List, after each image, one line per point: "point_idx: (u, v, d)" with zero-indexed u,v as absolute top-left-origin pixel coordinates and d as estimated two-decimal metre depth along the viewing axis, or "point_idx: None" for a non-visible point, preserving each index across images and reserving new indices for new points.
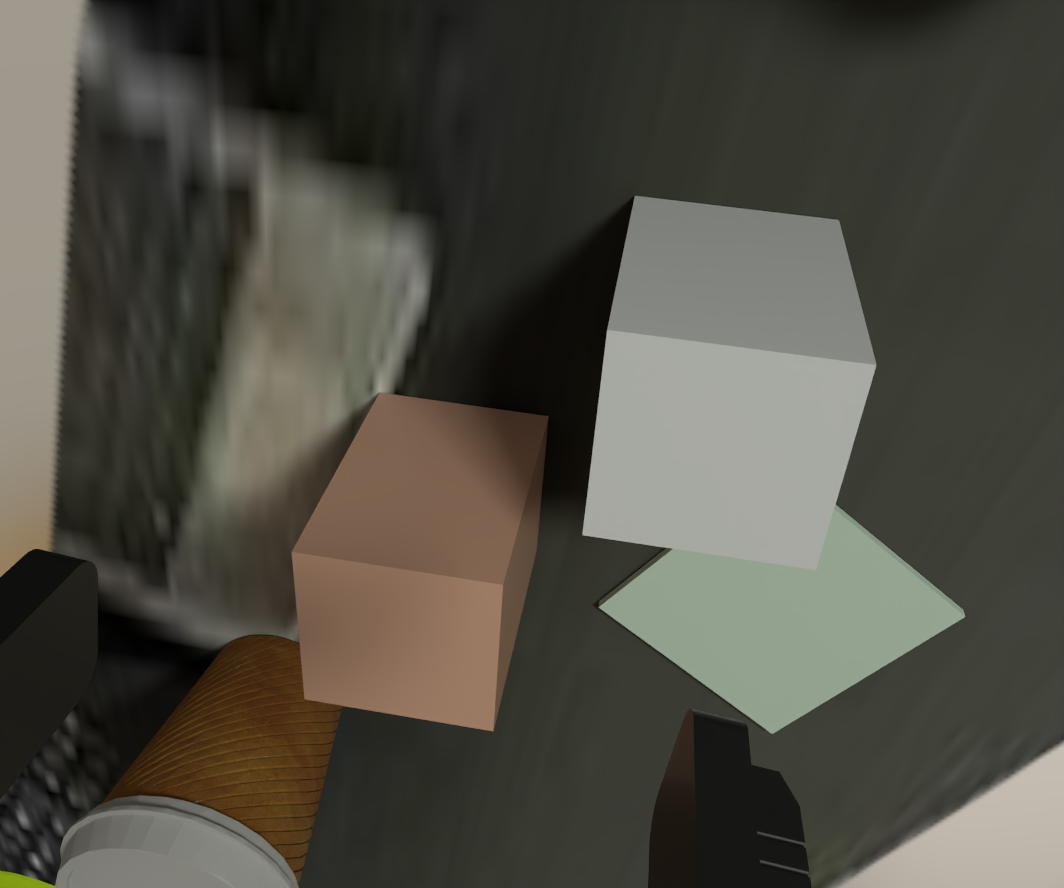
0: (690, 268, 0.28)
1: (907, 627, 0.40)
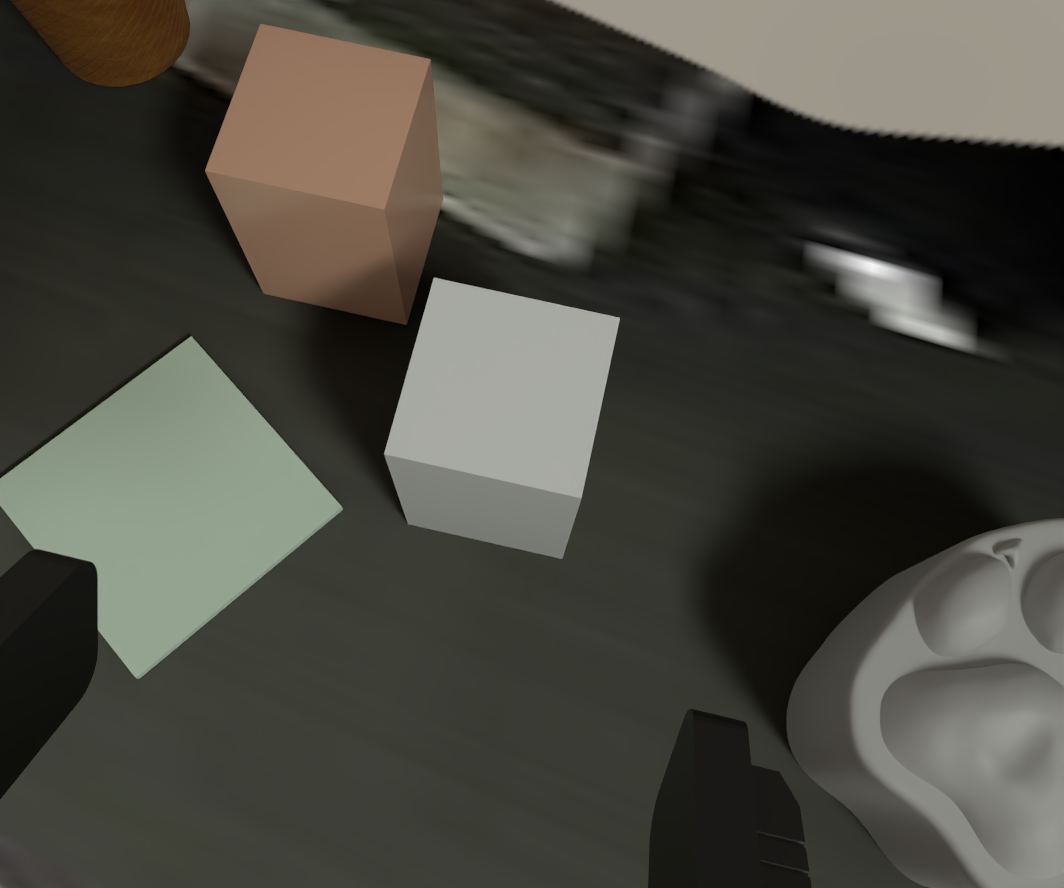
0: None
1: (127, 622, 0.39)
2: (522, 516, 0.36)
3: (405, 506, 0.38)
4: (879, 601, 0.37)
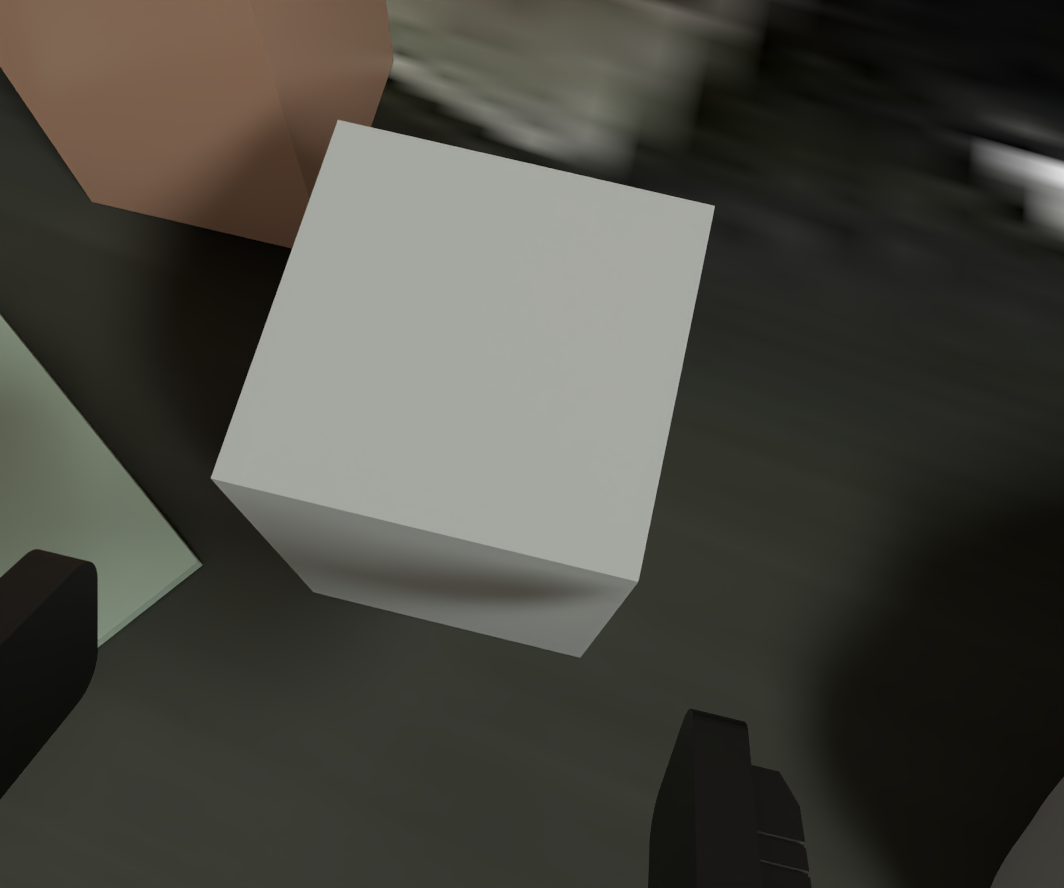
0: None
1: None
2: (510, 599, 0.18)
3: (297, 568, 0.21)
4: None
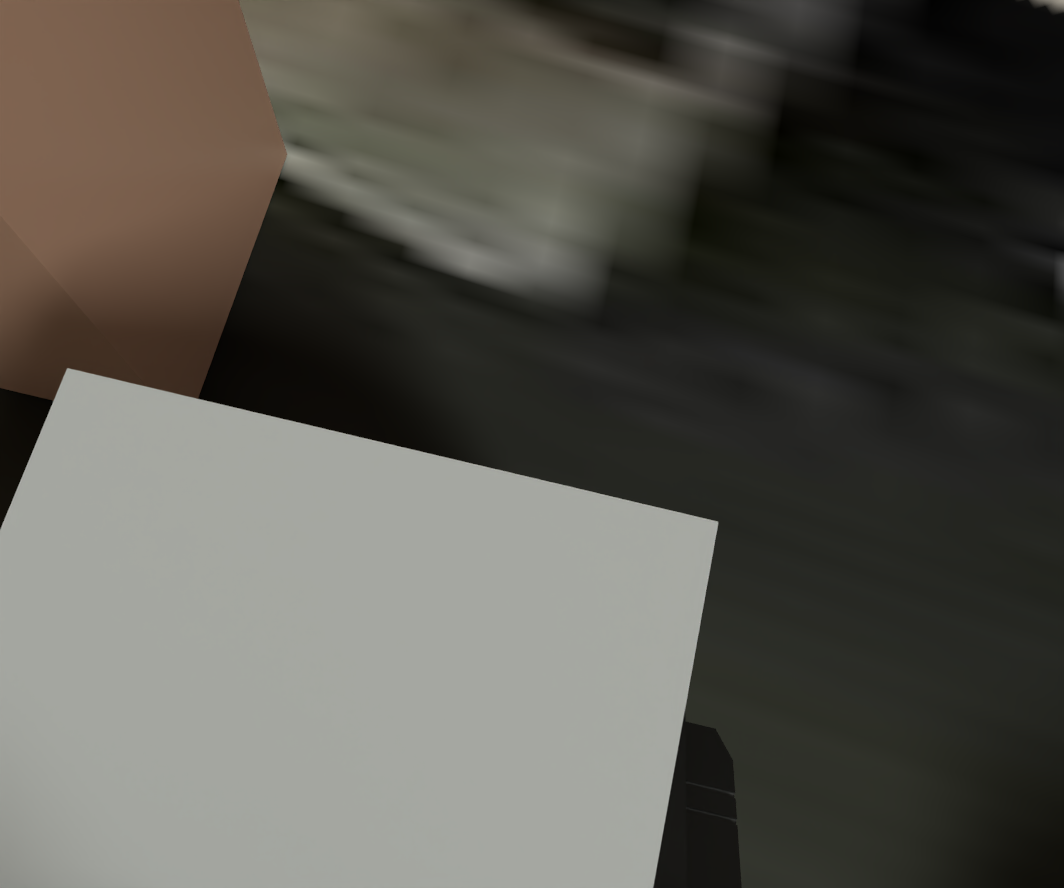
0: None
1: None
2: None
3: None
4: None
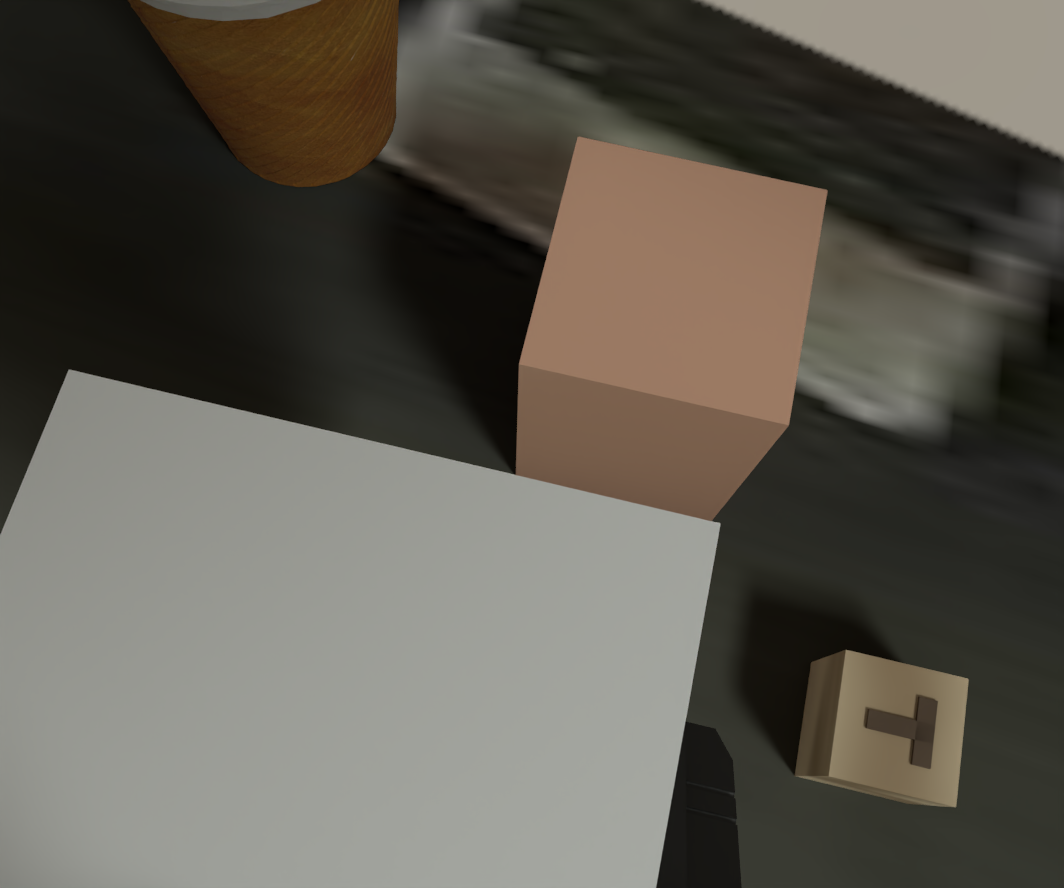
0: None
1: None
2: None
3: None
4: None
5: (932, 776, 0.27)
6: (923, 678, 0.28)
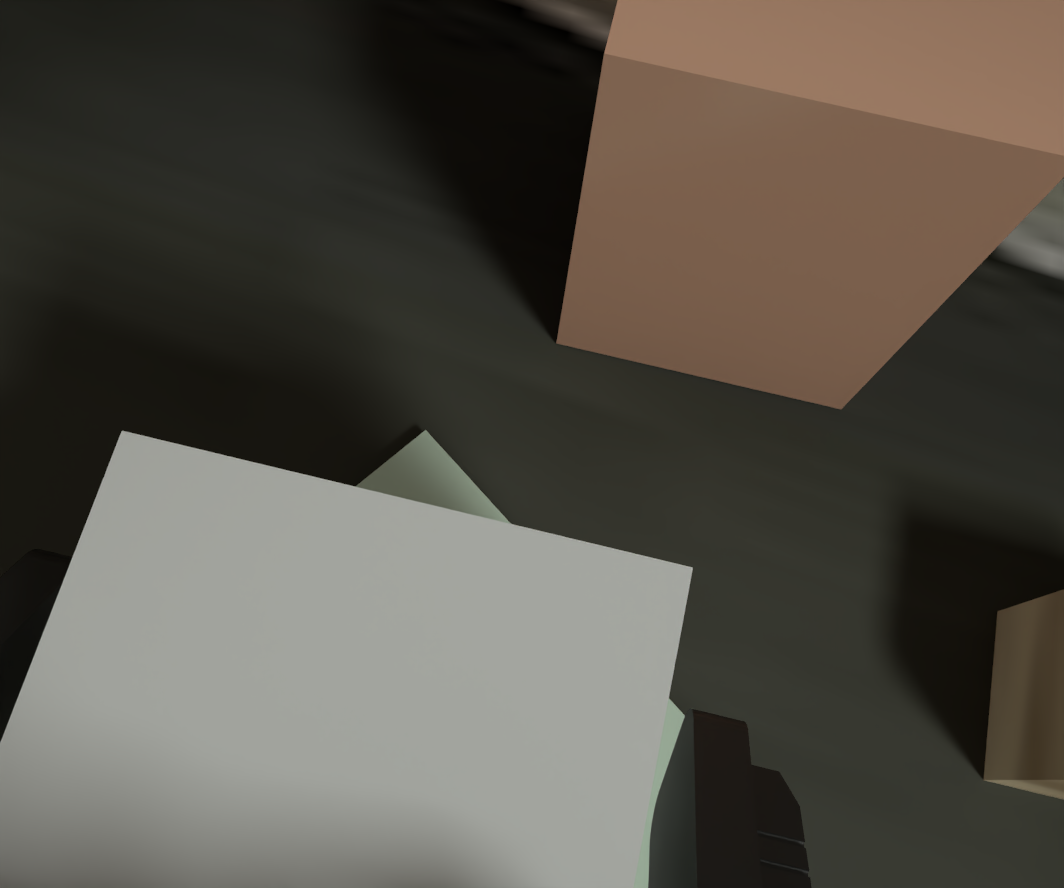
0: None
1: None
2: None
3: None
4: None
5: None
6: None
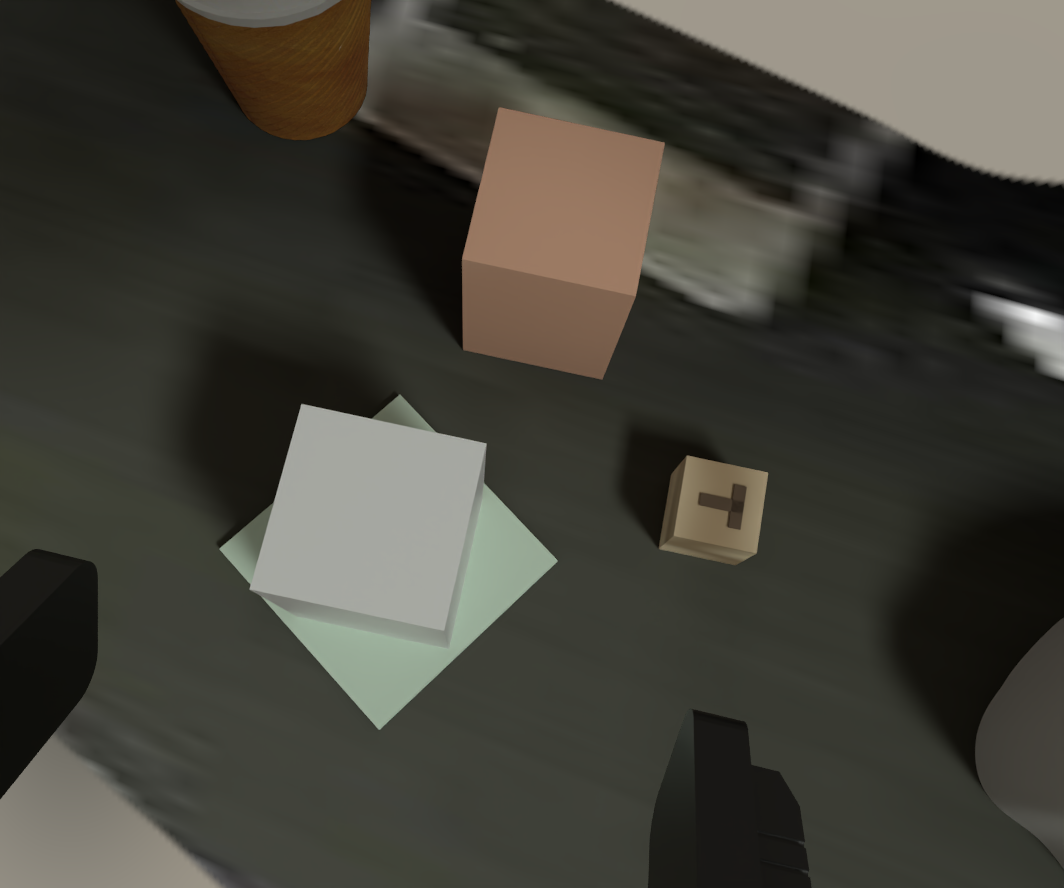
0: (473, 521, 0.38)
1: (366, 677, 0.41)
2: (397, 629, 0.36)
3: (288, 610, 0.39)
4: None
5: (741, 534, 0.41)
6: (738, 472, 0.41)
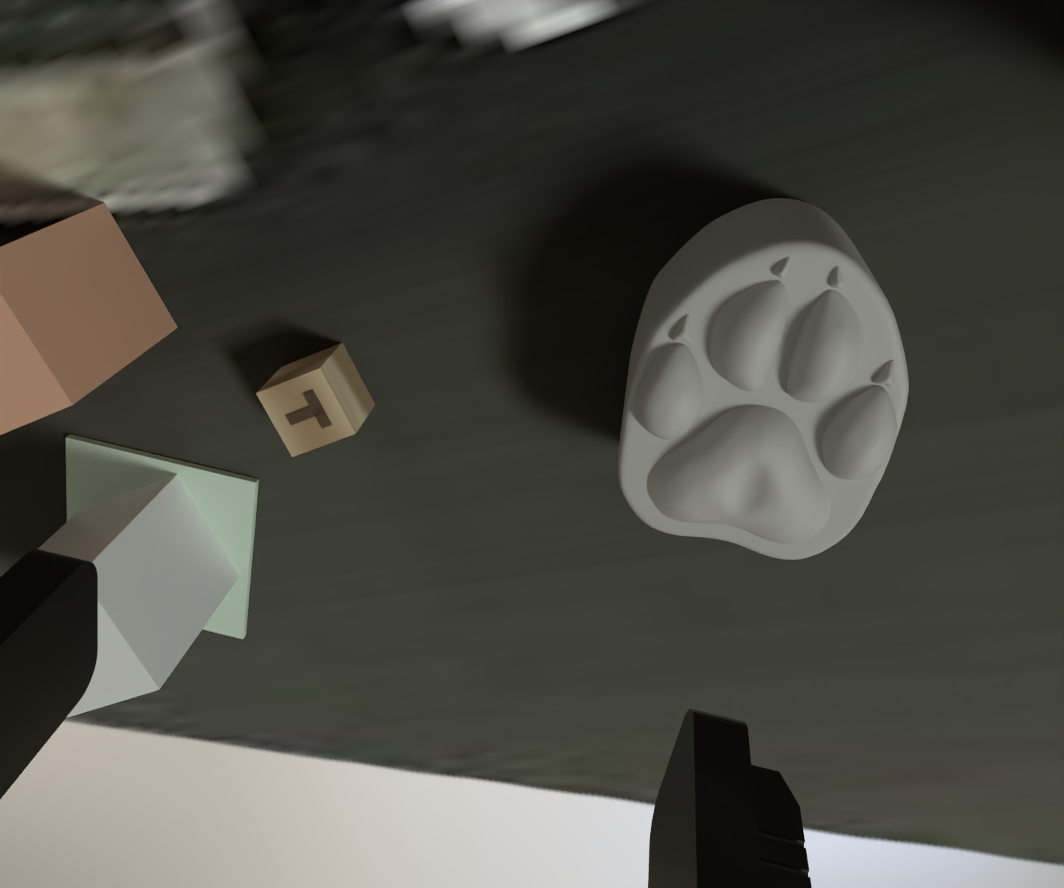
0: (150, 557, 0.48)
1: None
2: None
3: None
4: (631, 365, 0.42)
5: (335, 426, 0.46)
6: (300, 382, 0.45)
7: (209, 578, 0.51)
